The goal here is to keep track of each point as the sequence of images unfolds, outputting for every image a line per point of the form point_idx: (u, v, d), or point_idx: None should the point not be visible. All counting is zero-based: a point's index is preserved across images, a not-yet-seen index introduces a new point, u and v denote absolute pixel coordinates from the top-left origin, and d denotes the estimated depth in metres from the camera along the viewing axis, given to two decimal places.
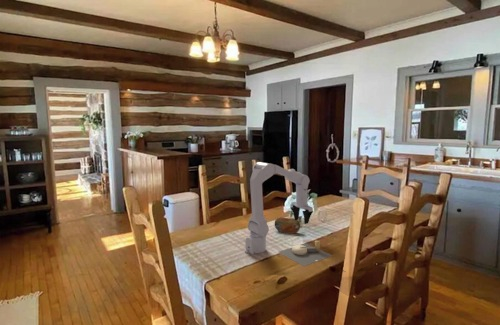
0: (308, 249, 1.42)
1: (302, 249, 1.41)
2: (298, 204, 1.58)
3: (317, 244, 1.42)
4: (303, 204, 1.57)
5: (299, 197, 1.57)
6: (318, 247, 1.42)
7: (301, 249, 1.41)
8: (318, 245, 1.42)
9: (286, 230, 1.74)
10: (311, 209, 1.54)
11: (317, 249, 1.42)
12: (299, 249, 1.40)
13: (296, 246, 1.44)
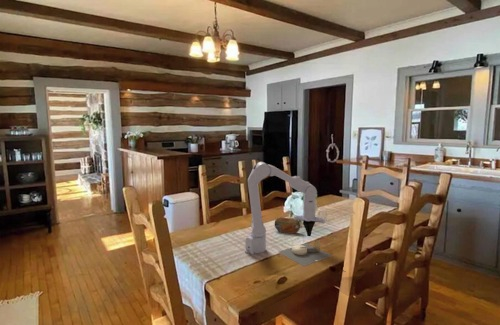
0: (308, 249, 1.42)
1: (302, 249, 1.41)
2: None
3: (317, 244, 1.42)
4: None
5: None
6: (318, 247, 1.42)
7: (301, 249, 1.41)
8: (318, 245, 1.42)
9: (286, 230, 1.74)
10: None
11: (317, 249, 1.42)
12: (299, 249, 1.40)
13: (296, 246, 1.44)
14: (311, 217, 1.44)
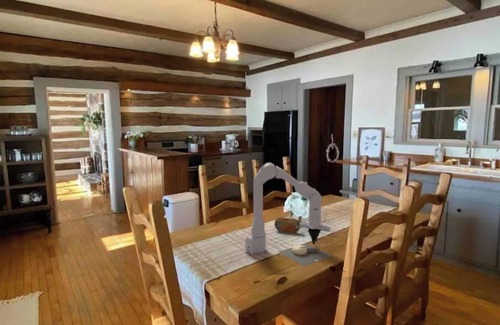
0: (308, 249, 1.42)
1: (302, 249, 1.41)
2: None
3: (317, 244, 1.42)
4: None
5: None
6: (318, 247, 1.42)
7: (301, 249, 1.41)
8: (318, 245, 1.42)
9: (286, 230, 1.74)
10: None
11: (317, 249, 1.42)
12: (299, 249, 1.40)
13: (296, 246, 1.44)
14: (316, 225, 1.42)
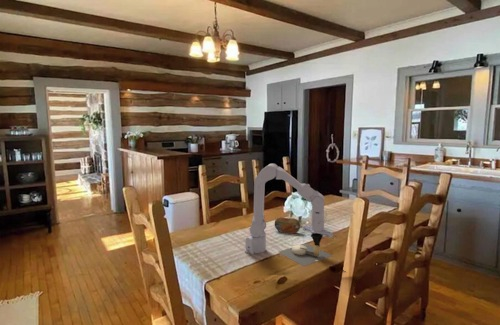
0: (306, 251, 1.40)
1: (300, 249, 1.40)
2: None
3: (314, 248, 1.37)
4: None
5: None
6: (315, 252, 1.36)
7: (298, 249, 1.41)
8: (315, 250, 1.36)
9: (286, 230, 1.74)
10: None
11: (314, 254, 1.37)
12: (296, 249, 1.41)
13: (299, 246, 1.45)
14: (317, 229, 1.36)
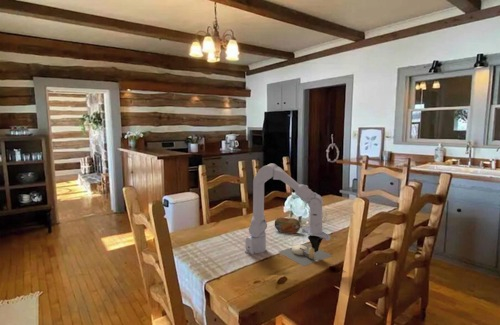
0: (303, 252, 1.39)
1: (298, 249, 1.41)
2: None
3: (309, 250, 1.35)
4: None
5: None
6: (310, 254, 1.34)
7: (297, 249, 1.41)
8: (310, 252, 1.34)
9: (286, 230, 1.74)
10: None
11: (309, 256, 1.35)
12: (295, 248, 1.42)
13: (301, 246, 1.44)
14: (315, 232, 1.33)
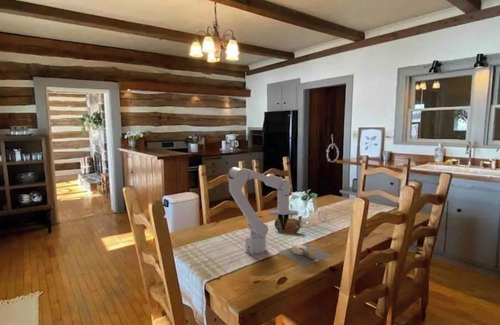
0: (303, 252, 1.39)
1: (298, 249, 1.41)
2: None
3: (309, 250, 1.35)
4: None
5: None
6: (310, 254, 1.34)
7: (297, 249, 1.41)
8: (310, 252, 1.34)
9: (286, 230, 1.74)
10: None
11: (309, 256, 1.35)
12: (295, 248, 1.42)
13: (301, 246, 1.44)
14: (286, 210, 1.49)
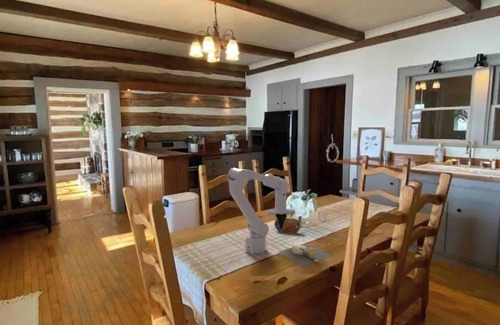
0: (303, 252, 1.39)
1: (298, 249, 1.41)
2: None
3: (309, 250, 1.35)
4: None
5: None
6: (310, 254, 1.34)
7: (297, 249, 1.41)
8: (310, 252, 1.34)
9: (286, 230, 1.74)
10: (266, 212, 1.52)
11: (309, 256, 1.35)
12: (295, 248, 1.42)
13: (301, 246, 1.44)
14: (284, 210, 1.50)
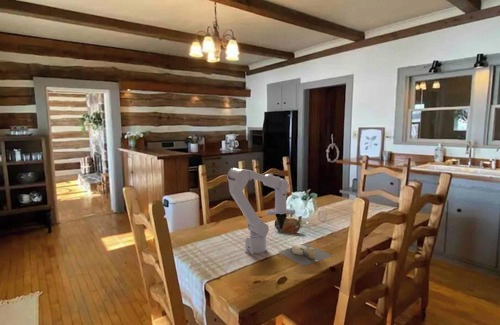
0: (303, 252, 1.39)
1: (298, 249, 1.41)
2: None
3: (309, 250, 1.35)
4: None
5: None
6: (310, 254, 1.34)
7: (297, 249, 1.41)
8: (310, 252, 1.34)
9: (286, 230, 1.74)
10: (266, 212, 1.52)
11: (309, 256, 1.35)
12: (295, 248, 1.42)
13: (301, 246, 1.44)
14: (284, 210, 1.50)
